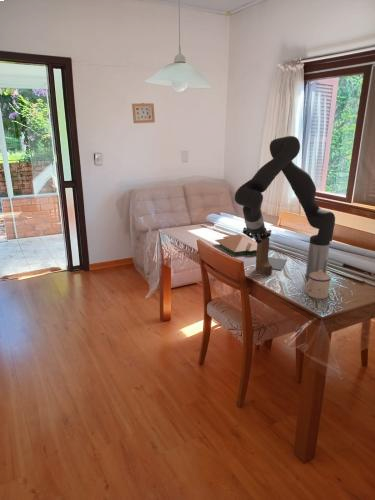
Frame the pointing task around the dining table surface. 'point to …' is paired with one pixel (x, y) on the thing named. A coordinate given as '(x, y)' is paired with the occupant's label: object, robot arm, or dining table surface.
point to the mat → (277, 263)
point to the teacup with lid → (318, 284)
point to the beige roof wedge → (238, 244)
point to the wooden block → (263, 258)
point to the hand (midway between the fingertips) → (259, 241)
